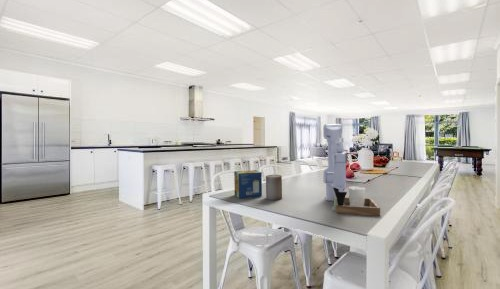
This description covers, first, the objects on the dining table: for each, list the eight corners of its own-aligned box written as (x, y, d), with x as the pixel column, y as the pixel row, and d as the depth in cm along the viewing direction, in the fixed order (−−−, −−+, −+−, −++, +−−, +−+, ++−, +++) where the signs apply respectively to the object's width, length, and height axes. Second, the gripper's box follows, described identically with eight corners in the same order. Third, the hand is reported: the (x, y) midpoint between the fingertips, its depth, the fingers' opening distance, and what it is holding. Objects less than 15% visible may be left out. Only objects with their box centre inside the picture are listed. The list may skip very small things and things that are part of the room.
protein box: (234, 195, 161) (233, 171, 160) (256, 193, 165) (256, 170, 165) (238, 198, 151) (238, 173, 150) (262, 196, 155) (262, 171, 155)
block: (334, 208, 128) (334, 196, 127) (342, 208, 126) (342, 197, 126) (334, 210, 124) (334, 198, 124) (343, 211, 123) (343, 199, 122)
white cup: (362, 205, 133) (362, 186, 133) (367, 209, 125) (367, 189, 125) (347, 204, 134) (346, 186, 134) (351, 209, 126) (351, 189, 126)
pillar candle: (281, 196, 155) (281, 172, 155) (282, 200, 146) (281, 174, 145) (266, 196, 156) (265, 172, 156) (265, 200, 146) (265, 174, 146)
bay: (333, 203, 138) (333, 196, 138) (370, 204, 133) (370, 198, 133) (336, 213, 120) (336, 205, 120) (380, 215, 115) (380, 208, 115)
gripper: (330, 174, 133) (330, 199, 133) (332, 178, 119) (332, 206, 119) (344, 174, 131) (344, 200, 131) (348, 179, 117) (348, 207, 117)
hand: (339, 203), depth 125 cm, fingers open, 7 cm apart
